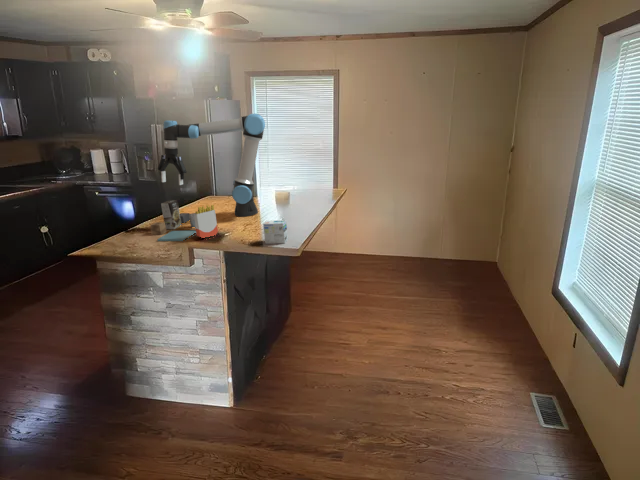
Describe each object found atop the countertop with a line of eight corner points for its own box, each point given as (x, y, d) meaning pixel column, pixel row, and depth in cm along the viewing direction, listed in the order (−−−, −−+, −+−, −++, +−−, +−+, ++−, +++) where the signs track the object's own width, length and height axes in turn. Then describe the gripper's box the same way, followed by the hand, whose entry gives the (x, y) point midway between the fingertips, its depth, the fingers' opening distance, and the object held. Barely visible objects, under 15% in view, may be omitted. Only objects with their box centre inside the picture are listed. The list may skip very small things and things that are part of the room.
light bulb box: (288, 239, 226) (286, 219, 223) (285, 243, 220) (283, 223, 216) (268, 240, 228) (266, 220, 224) (264, 244, 221) (262, 223, 218)
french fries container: (196, 239, 238) (191, 207, 233) (214, 234, 245) (209, 203, 240) (201, 240, 235) (195, 208, 229) (218, 235, 242) (214, 204, 236)
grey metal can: (203, 225, 266) (201, 212, 264) (198, 228, 261) (196, 215, 258) (194, 225, 267) (191, 213, 265) (189, 228, 262) (187, 215, 259)
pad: (197, 232, 251) (197, 230, 251) (184, 241, 236) (183, 239, 236) (172, 232, 255) (172, 230, 254) (157, 241, 240) (157, 239, 239)
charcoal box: (190, 220, 281) (189, 213, 280) (184, 224, 274) (182, 216, 272) (182, 220, 283) (181, 213, 281) (175, 224, 275) (174, 216, 274)
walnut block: (166, 232, 258) (164, 222, 256) (161, 235, 252) (159, 225, 250) (157, 232, 259) (155, 222, 257) (151, 235, 253) (150, 225, 251)
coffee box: (174, 229, 262) (170, 203, 257) (165, 229, 264) (160, 203, 259) (182, 225, 271) (177, 199, 266) (172, 225, 272) (168, 199, 267)
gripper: (150, 146, 259) (152, 181, 265) (183, 149, 249) (184, 186, 255) (159, 145, 265) (161, 180, 271) (192, 149, 256) (192, 185, 262)
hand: (172, 183), depth 263 cm, fingers open, 13 cm apart
